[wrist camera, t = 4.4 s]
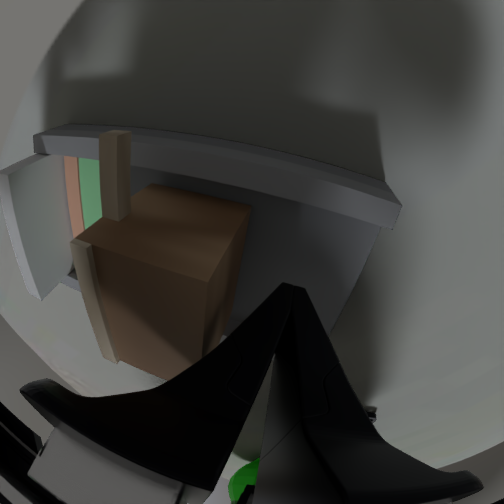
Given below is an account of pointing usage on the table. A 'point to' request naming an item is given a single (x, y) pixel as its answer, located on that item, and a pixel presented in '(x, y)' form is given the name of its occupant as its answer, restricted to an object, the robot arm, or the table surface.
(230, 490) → the plastic bottle
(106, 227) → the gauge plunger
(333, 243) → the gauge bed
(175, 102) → the table surface
